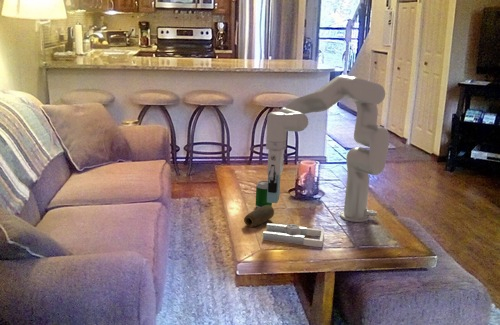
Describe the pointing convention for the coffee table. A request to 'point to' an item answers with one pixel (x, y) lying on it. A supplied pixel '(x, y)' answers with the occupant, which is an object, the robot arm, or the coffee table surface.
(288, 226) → the die
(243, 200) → the coffee table surface
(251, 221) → the brown hollow cylinder
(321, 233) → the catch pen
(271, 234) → the slot rails
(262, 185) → the soda can
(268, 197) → the block
